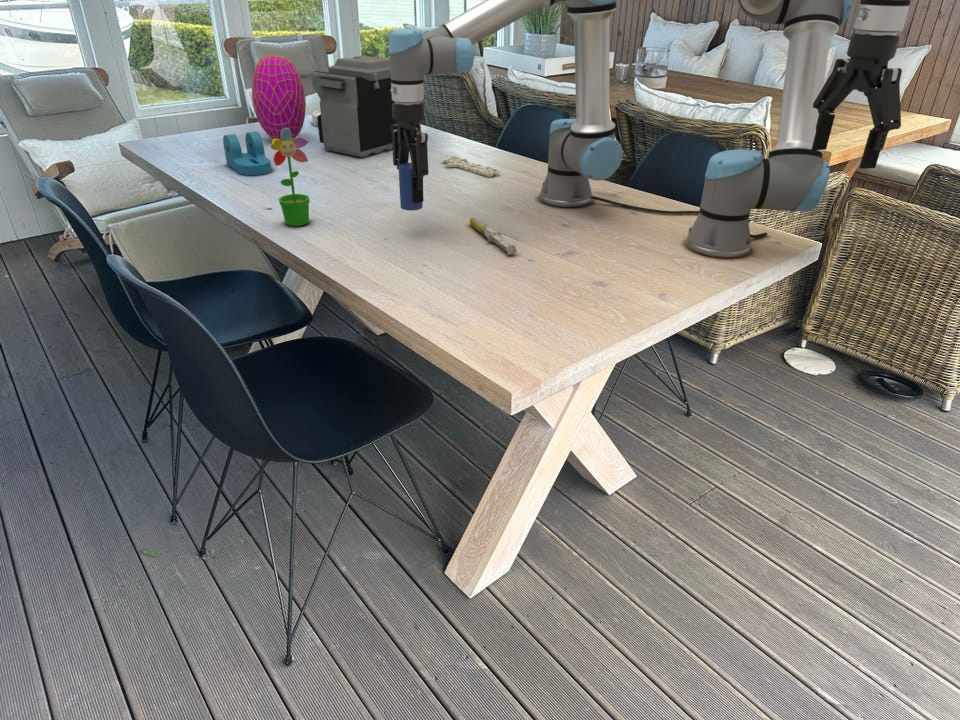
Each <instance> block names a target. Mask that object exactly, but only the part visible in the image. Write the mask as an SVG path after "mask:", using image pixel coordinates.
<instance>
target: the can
mask: <svg viewBox="0 0 960 720" xmlns="http://www.w3.org/2000/svg"><path fill="white" fill-rule="evenodd" d="M411 175H414V174H413V169H412V163H411V162H408V163H403V164H400V165H399V170H398V185H399V184H400V187H399V201H400V209H402V210H404V211H419V210H421V209H423V206H424V204H423V202H419V203H413V199H412V177H411Z"/></svg>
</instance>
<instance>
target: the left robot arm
mask: <svg viewBox="0 0 960 720" xmlns="http://www.w3.org/2000/svg"><path fill="white" fill-rule="evenodd" d="M561 2H566V8H567V9H566V10H567V15H568V16H569V17H570V18H571V19H572V21H573V36H574V37H573V38H574V39H573V40H574V41H573V42H574V80H575V82H574V85H575V86H574V87H575V118H561V119H554V120H553V121H552V122H551V124H550V127H549V128H550V129H549V133H548V136H549V141H548V142H549V143H548V156H547V158H548V159H547V173H546V176H545V178H544V181H543V182H542V185H541V186H542V187H541V189H540V192H539V200H540V202H542V203H543V204H546V205H549V206H553V207H558V208H559V207H560V208H580V207H584V206H588V205H589V204H591V203H592V200H596V201H600V202H604V203H608V204H611V205H615V206H619V207H623V208H627V209H631V210H637V211H643V212H648V213H655V214H656V213H657V214H668V215H687V214H688V215H689V214H691V215H693V214H694V215H699V211H700V210H662V209H653V208H647V207H641V206H636V205H632V204H631V205H630V204H626V203H621V202H618V201H614V200H610V199H607V198H603V197H599V196H594V195H593V193H592V188H591V184H590V180H592V181H597V182H598V181H604V180H607V179H608V178H610V177H612V175H614V174H615V172H616V171H618V169H619V167H620V166H621V163H622V161H623V156H624V152H623V151H624V150H623V147H622V144H621V143H620V142H619V140H618V139H616V123H615V122H614V121H613V120H612V119H611V118H610V48H611V47H610V46H611V45H610V42H611V41H610V35H611V34H610V29H611V28H610V27H611V26H610V25H611V24H610V23H611V21H610V20H611V19H610V18H611V16H612V15H613V14H614V13H615V11H616V10H617V0H483V1H481V2H480V3H478V4H476V5H475V6H472V7H471V8H469V9H468V10H465V11H464V12H462V13H460V14H459V15H457V16H455V17H453V18H452V19H450V20H448V21H447V22H444V23H443V24H441V25H440V26H438V27H435V28H434V29H432V30H425V31H422V30H421V29H416V28H396V29H395V28H394V29H392V30H390V32H389V35H388V54H389V55H388V56H389V59H390V72H391V93H392V100H393V101H394V103H393V104H392V117H393V119H394V120H396V121H398V122H397V124H395V125H391V131H392V143H393V149H392V164H393V166H394V167H396V169H397V171H399V165H400V164H403V163H409V160H410V163H412V169H413V174H414V175H411V177H412V199H413V203H419V202H424V177H425V176H428V175H429V154H428V141H429V140H428V139H429V134H428V133H427V132H426V133H425V132H422V127H420V122H421V121H423V120H424V119H425V104H424V103H423V101H424V100H425V91H424V90H425V89H424V75H437V74H439V75H440V74H441V75H442V74H456V75H459V74H464V73H469V72H471V70H472V69H473V67H474V63H475V51H474V45H476V44H477V43H479V42H480V41H483V40H484V39H486V38H488V37H490V36H491V35H493V34H496V33H497V32H499V31H500V30H502V29H504V28H505V27H507V26H509V25H511V24H513V23H515V22H516V21H518V20H520V19H522V18H524V17H525V16H527V15H528V14H530V13H532V12H534V11H536V10H537V9H539V8H544V9H548V8H549V7H551V6H553V5H556V4H558V3H561ZM409 158H410V159H409ZM398 185H399V188H400V184H399V183H398ZM748 222H749V223H751V220H750V219H749V220H748Z"/></svg>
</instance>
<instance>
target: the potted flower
mask: <svg viewBox="0 0 960 720" xmlns="http://www.w3.org/2000/svg"><path fill="white" fill-rule="evenodd" d="M280 136H281V140H282V141H281V140H279V139H273V138H272V141H271V145H270V148H271V149H272V150H274V151H275V153H274V155H273V163H274V165H275V167H277V166H282V164H283V163H285V161H286V158H287V164H288V165H287V166H288V171H289V178H284V179H282V180H281V181H280V184H281V185H282V186H285V187H291V193H290V194H286V195H282V196H280V197H279V198H278V202H279V205H280V207H281V210H282V215H283V219H284V223H285V225H287V226H290V227H291V226H292V227H301V226H304V225H306V224H309V222H310V206H309V205H310V196H309V195H307V194H303V193H296V192H295V191H296V190H295V184H294V178H296V177H297V176H299V174H300V173H299V171H297V170H295V171H293V168H292V162H291V161H292V160H291V159H293V160H294V161H296V162H297V163H307V162H309V158H308V156H307V155H306V153H305V152H303V150H301V148H303V147H305V146H306V145H308V144H309V143H310V140H308V139H307V138H306V137H303V136H299V135H298V136H296V137H295V138H293V139H292V134H291V131H290V130H289V129H288V128H284V129H283V130H282V131H281V134H280Z"/></svg>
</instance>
